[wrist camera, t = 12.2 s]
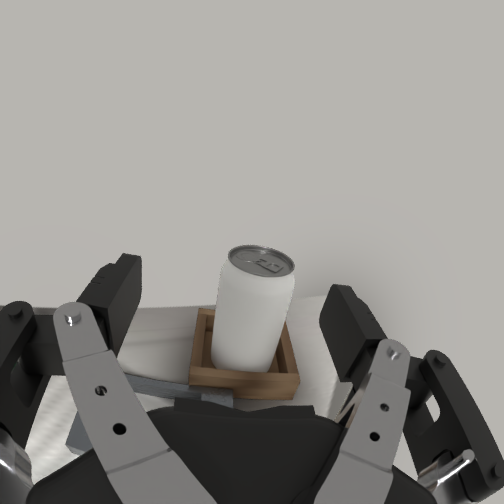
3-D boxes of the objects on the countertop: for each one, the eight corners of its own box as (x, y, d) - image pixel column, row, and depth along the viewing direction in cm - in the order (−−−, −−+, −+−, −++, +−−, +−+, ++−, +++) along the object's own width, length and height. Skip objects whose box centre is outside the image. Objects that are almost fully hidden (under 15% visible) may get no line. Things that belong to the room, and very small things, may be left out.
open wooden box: (188, 393, 23) (188, 373, 22) (197, 327, 33) (198, 307, 31) (291, 399, 25) (300, 381, 23) (278, 335, 34) (284, 316, 33)
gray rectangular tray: (71, 452, 14) (65, 444, 13) (99, 377, 22) (95, 366, 22) (232, 484, 16) (235, 478, 15) (230, 399, 24) (232, 389, 23)
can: (233, 332, 32) (250, 237, 28) (281, 358, 29) (311, 261, 25) (197, 360, 27) (206, 255, 22) (249, 393, 24) (277, 288, 19)
